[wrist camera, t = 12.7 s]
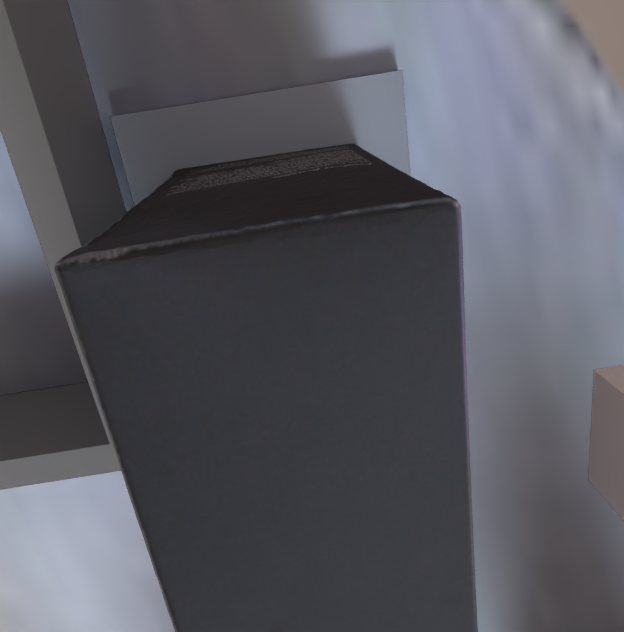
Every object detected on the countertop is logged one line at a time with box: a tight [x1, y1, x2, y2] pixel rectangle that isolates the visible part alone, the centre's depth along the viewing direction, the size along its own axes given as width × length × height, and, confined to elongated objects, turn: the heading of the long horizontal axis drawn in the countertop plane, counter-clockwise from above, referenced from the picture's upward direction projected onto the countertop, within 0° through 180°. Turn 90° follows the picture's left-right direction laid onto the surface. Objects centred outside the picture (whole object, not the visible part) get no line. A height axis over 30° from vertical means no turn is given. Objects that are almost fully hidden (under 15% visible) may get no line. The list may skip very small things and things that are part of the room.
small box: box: [55, 144, 478, 632], centre depth 14 cm, size 11×6×10 cm, turn 8°
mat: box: [110, 70, 410, 206], centre depth 20 cm, size 9×14×1 cm, turn 8°
